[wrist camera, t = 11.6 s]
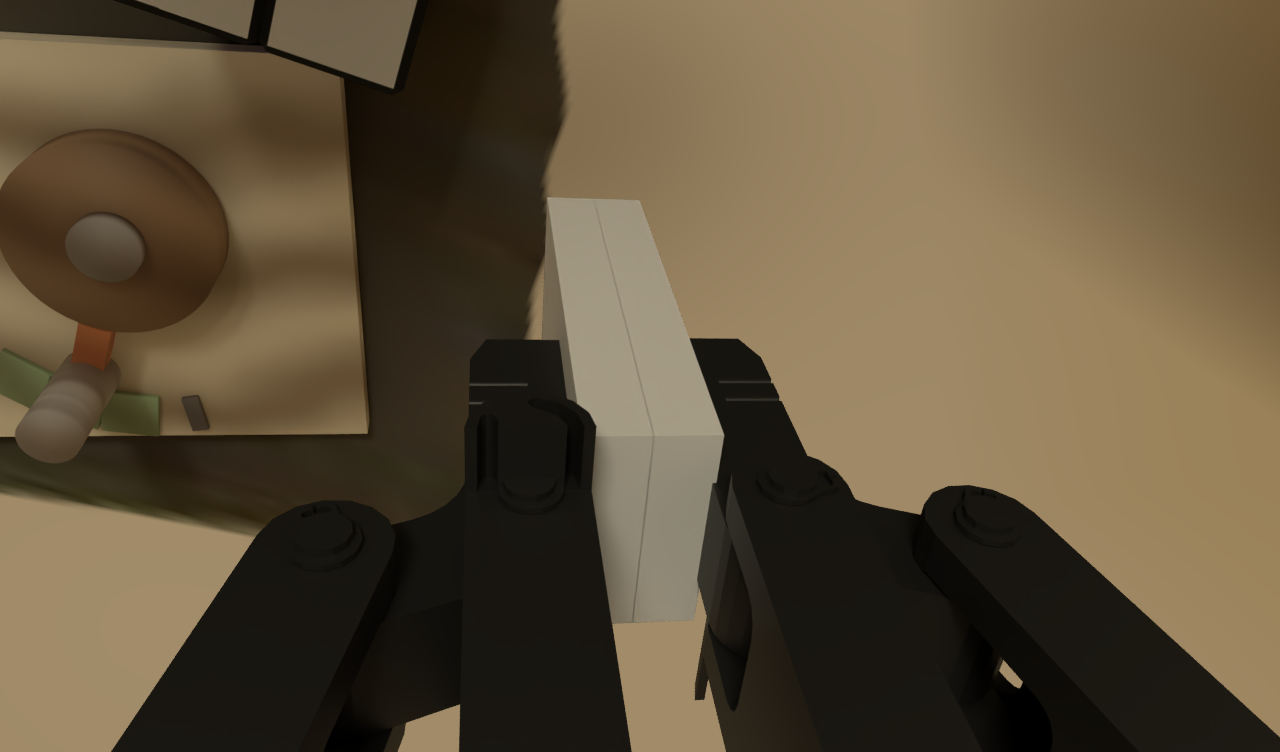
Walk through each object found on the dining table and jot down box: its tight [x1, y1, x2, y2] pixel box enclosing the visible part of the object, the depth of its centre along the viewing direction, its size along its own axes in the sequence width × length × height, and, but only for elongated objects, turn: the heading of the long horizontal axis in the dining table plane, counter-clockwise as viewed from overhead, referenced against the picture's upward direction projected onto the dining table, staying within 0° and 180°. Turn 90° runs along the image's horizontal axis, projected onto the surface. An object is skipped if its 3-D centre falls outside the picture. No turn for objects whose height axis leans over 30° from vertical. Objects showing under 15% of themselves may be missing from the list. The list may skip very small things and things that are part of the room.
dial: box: [0, 129, 229, 463], centre depth 42 cm, size 14×9×6 cm, turn 156°
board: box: [0, 32, 370, 437], centre depth 45 cm, size 20×22×2 cm
